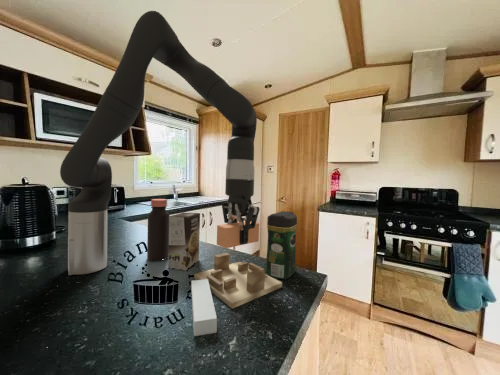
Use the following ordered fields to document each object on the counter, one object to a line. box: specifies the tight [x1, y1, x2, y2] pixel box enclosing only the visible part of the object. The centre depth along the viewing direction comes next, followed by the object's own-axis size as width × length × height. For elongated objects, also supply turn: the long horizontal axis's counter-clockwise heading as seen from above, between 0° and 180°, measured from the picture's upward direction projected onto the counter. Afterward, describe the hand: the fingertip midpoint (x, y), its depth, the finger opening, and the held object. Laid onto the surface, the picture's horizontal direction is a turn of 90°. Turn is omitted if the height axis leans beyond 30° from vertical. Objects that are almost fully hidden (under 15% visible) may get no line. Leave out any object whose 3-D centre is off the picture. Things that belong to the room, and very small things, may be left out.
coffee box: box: [167, 212, 201, 271], centre depth 71 cm, size 9×6×16 cm
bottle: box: [146, 198, 171, 262], centre depth 75 cm, size 7×7×20 cm
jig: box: [193, 252, 283, 310], centre depth 59 cm, size 16×18×5 cm
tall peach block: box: [216, 221, 260, 249], centre depth 59 cm, size 11×4×5 cm, turn 130°
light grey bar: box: [190, 279, 218, 337], centre depth 47 cm, size 4×16×3 cm, turn 17°
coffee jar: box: [265, 210, 298, 280], centre depth 66 cm, size 10×8×19 cm
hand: (238, 241), depth 59 cm, fingers closed on tall peach block, 4 cm apart
